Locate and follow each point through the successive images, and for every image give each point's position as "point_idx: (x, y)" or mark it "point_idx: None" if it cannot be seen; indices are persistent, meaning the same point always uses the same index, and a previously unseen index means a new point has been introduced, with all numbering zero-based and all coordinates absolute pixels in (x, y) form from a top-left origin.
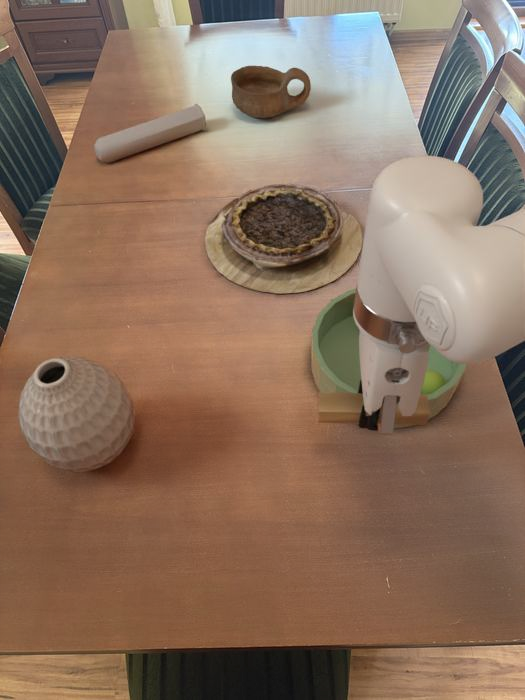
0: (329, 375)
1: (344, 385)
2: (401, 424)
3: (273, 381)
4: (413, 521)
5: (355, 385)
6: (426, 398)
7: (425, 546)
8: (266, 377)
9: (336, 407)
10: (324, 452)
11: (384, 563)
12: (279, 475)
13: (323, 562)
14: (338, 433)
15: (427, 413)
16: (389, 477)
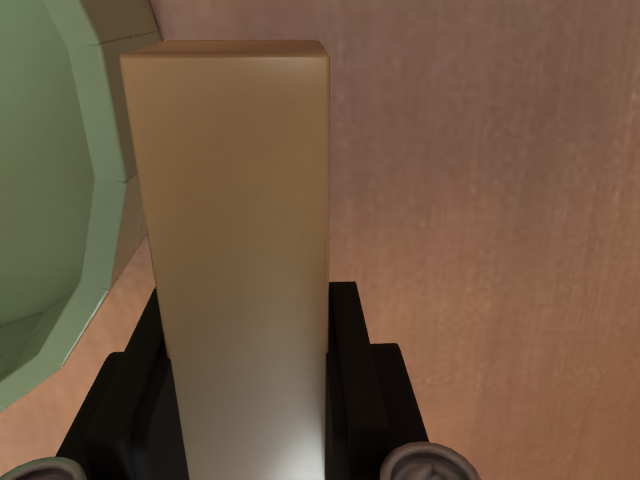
0: (20, 394)
1: (57, 342)
2: None
3: (57, 430)
4: (526, 38)
5: (6, 210)
6: (167, 67)
7: (613, 6)
8: (47, 446)
9: None
10: None
11: (634, 145)
12: None
13: (596, 298)
14: None
15: (325, 79)
16: (367, 105)
